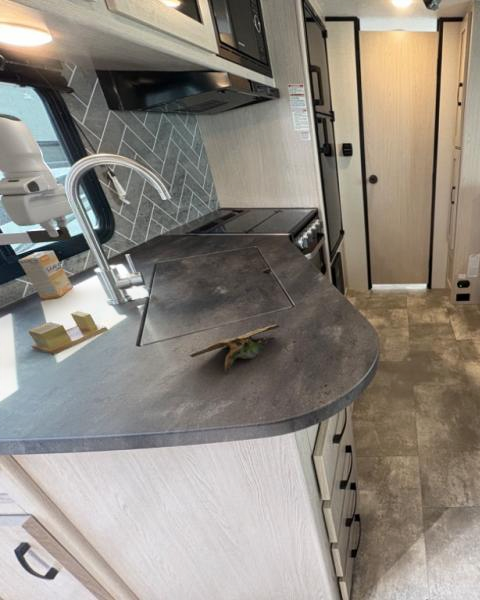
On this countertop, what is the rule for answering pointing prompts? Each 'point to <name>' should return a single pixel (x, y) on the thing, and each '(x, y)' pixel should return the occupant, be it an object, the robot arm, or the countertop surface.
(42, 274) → the supplement box
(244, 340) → the dried leafy seed pod
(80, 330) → the butter board
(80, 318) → the butter slice
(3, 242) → the knife
